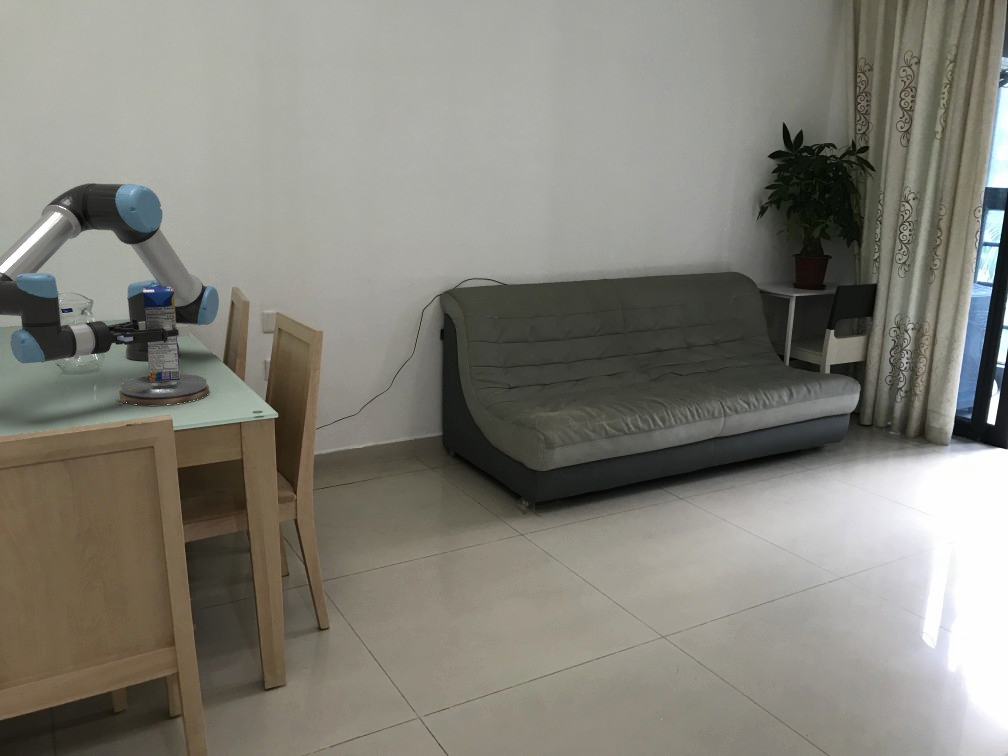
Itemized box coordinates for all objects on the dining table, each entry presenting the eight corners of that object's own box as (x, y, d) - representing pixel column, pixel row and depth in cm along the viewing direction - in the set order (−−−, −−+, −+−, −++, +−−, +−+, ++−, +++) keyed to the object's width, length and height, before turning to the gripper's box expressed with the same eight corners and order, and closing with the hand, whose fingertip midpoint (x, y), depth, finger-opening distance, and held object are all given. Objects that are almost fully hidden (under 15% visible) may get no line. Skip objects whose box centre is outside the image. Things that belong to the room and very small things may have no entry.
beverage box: (149, 381, 198) (143, 292, 193) (149, 372, 208) (142, 286, 203) (179, 380, 201) (173, 291, 196) (177, 370, 211) (172, 286, 206)
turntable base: (180, 380, 220) (179, 375, 220) (225, 394, 208) (225, 388, 207) (96, 396, 202) (95, 390, 202) (140, 412, 190) (140, 406, 190)
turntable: (179, 375, 219) (178, 370, 219) (222, 388, 207) (222, 382, 207) (105, 389, 204) (105, 383, 203) (148, 403, 192) (148, 397, 191)
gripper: (65, 347, 195) (152, 335, 213) (114, 362, 182) (202, 348, 199) (62, 316, 194) (150, 307, 211) (111, 329, 180) (200, 318, 197)
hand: (175, 327), depth 205 cm, fingers closed on beverage box, 10 cm apart
